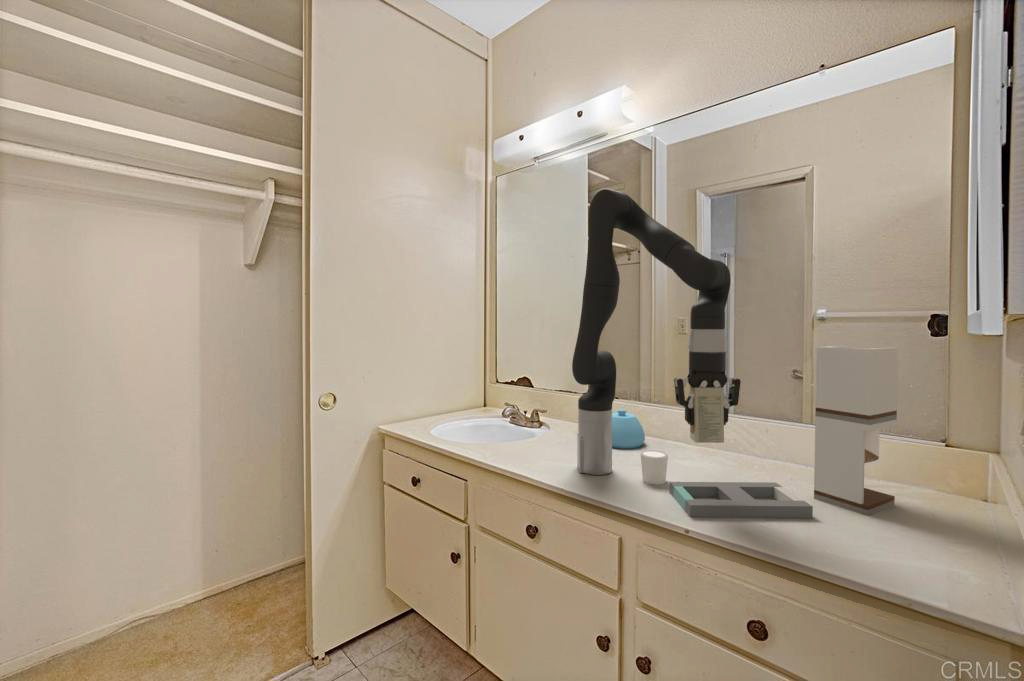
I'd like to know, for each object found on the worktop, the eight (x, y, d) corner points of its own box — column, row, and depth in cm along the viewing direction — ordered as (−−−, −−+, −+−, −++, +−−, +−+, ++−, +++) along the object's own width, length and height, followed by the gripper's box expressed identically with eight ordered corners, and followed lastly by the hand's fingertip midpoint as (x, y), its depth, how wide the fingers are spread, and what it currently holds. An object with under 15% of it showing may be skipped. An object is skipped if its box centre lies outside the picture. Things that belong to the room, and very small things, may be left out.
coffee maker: (867, 515, 94) (871, 349, 93) (813, 498, 104) (816, 347, 102) (894, 505, 100) (898, 347, 98) (841, 489, 109) (844, 345, 108)
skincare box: (717, 438, 102) (718, 385, 102) (724, 443, 98) (725, 387, 98) (688, 437, 103) (688, 384, 102) (694, 443, 99) (694, 387, 98)
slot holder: (690, 517, 94) (690, 505, 94) (669, 492, 108) (669, 481, 108) (812, 518, 93) (812, 506, 93) (775, 492, 107) (775, 482, 107)
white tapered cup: (669, 478, 118) (669, 451, 118) (666, 486, 112) (666, 459, 111) (642, 474, 121) (642, 448, 121) (638, 482, 115) (638, 455, 114)
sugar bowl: (591, 444, 151) (591, 410, 151) (612, 435, 163) (612, 404, 162) (632, 452, 142) (632, 416, 141) (652, 442, 153) (652, 409, 153)
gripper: (679, 350, 96) (679, 428, 97) (748, 350, 96) (747, 428, 96) (669, 348, 104) (668, 420, 104) (732, 348, 103) (731, 420, 104)
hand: (706, 424), depth 100 cm, fingers closed on skincare box, 6 cm apart
